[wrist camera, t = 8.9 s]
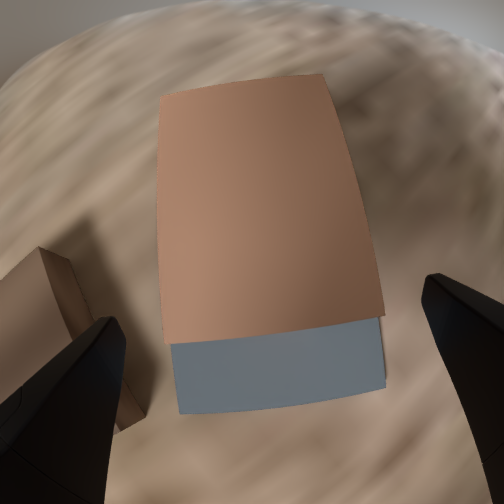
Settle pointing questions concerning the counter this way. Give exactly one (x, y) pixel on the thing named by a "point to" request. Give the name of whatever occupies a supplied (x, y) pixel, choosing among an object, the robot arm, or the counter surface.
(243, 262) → the tall peach block
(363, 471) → the counter surface
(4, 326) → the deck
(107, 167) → the counter surface
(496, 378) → the robot arm
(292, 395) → the mat
